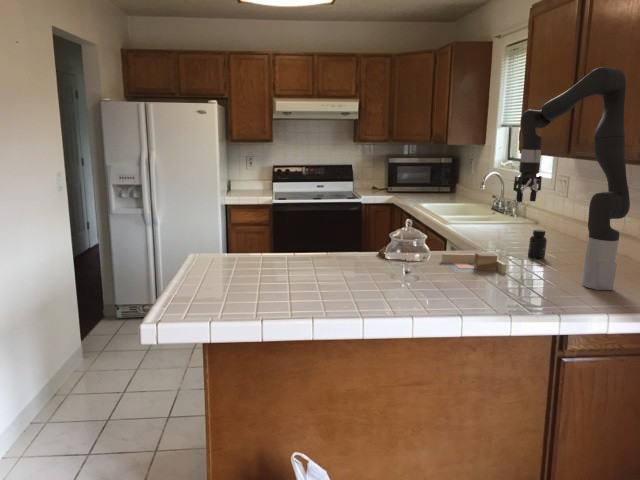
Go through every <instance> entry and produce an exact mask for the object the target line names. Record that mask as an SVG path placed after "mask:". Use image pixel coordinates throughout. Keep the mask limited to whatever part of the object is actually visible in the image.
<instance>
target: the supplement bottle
mask: <svg viewBox="0 0 640 480" xmlns="http://www.w3.org/2000/svg"><path fill="white" fill-rule="evenodd" d="M532 231H533V232H532V235H531V236H530V237H529V241H528V242H529V243H528V252H527V257H528V259H529V258H530V259H533V260H544V259H545V257H546V250H547V243H548V239H547V237H545V236H546V231H545V230H542V229H534V230H532Z"/></svg>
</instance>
